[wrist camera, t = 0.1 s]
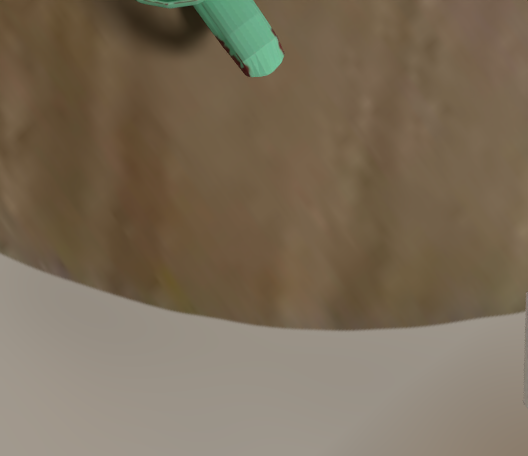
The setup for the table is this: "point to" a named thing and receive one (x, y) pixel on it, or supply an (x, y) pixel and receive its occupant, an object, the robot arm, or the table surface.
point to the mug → (237, 32)
